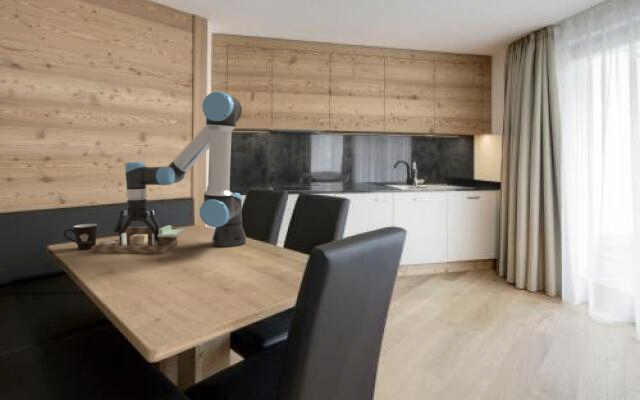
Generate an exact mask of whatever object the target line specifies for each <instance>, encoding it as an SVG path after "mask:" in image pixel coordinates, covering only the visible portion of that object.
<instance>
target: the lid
mask: <svg viewBox="0 0 640 400" xmlns="http://www.w3.org/2000/svg"><path fill="white" fill-rule="evenodd" d="M162 227H163V228H160V229H159V234H158V237H175V236H177V237H178V236H179V235H182V234H183V233H185V232H186V229H184V228H183V229H182V228H181V229H171V227H172V225H171V224H170V225H169V224H168V225H164V226H162Z"/></svg>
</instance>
